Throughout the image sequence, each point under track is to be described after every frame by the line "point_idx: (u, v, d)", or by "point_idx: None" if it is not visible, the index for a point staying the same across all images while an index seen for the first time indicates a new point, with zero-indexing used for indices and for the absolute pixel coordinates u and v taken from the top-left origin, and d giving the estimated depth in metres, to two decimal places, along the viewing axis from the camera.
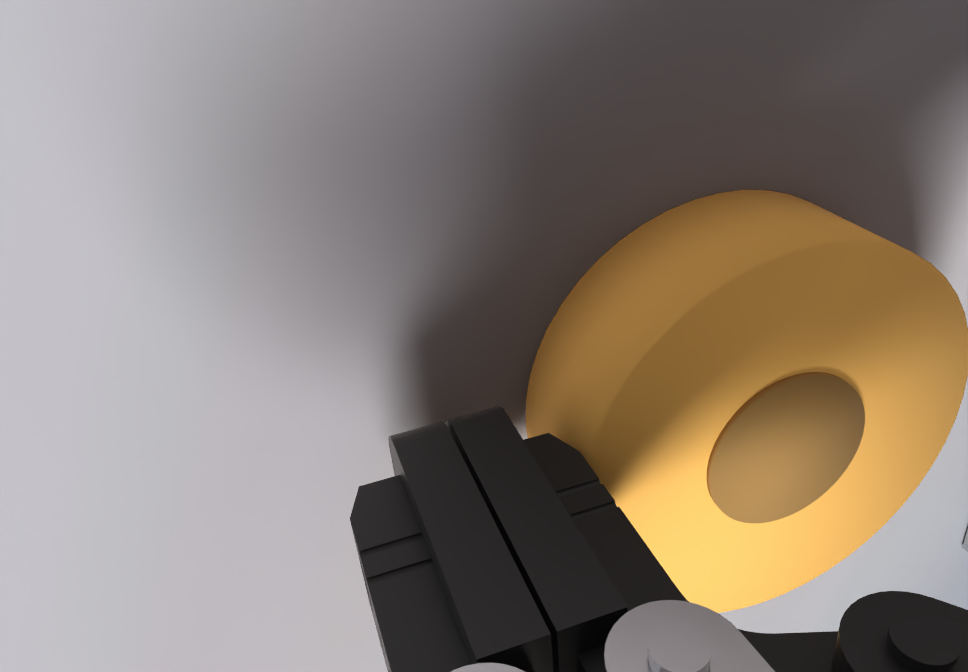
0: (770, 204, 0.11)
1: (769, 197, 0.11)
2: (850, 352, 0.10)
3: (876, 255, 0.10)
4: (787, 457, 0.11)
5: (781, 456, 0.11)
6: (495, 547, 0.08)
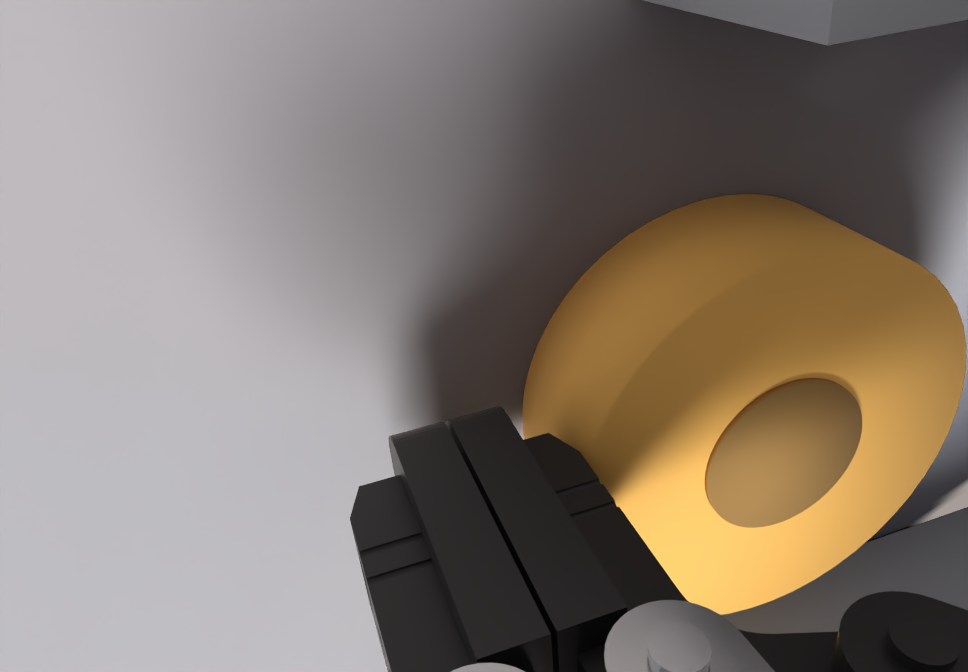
0: (779, 209, 0.11)
1: (777, 203, 0.11)
2: (850, 359, 0.10)
3: (882, 263, 0.10)
4: (784, 462, 0.11)
5: (779, 462, 0.11)
6: (495, 547, 0.08)
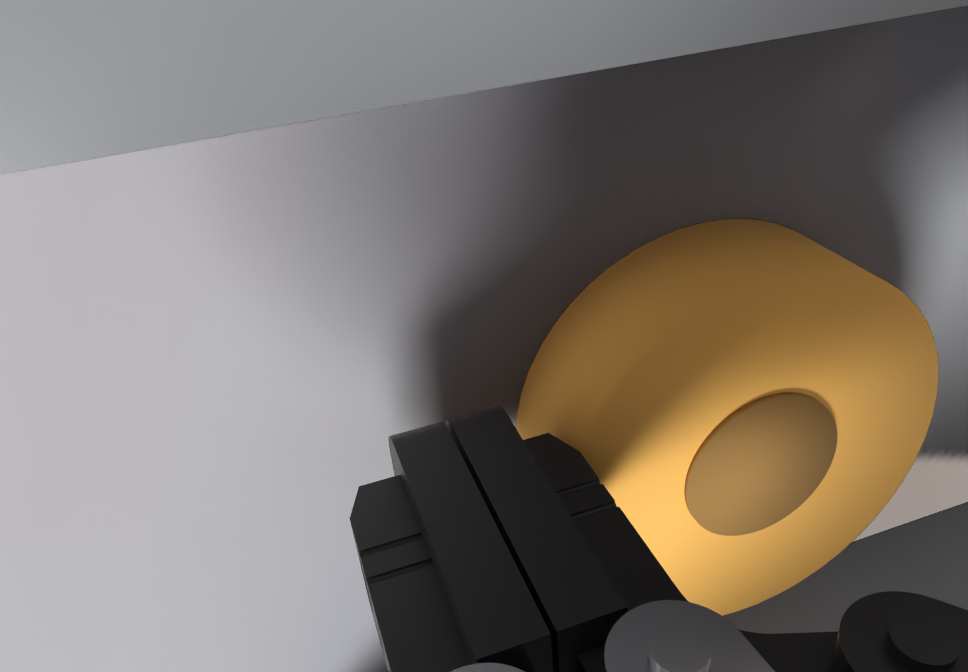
0: (774, 230, 0.11)
1: (772, 225, 0.11)
2: (831, 379, 0.11)
3: (869, 288, 0.10)
4: (761, 473, 0.11)
5: (756, 472, 0.11)
6: (495, 547, 0.08)
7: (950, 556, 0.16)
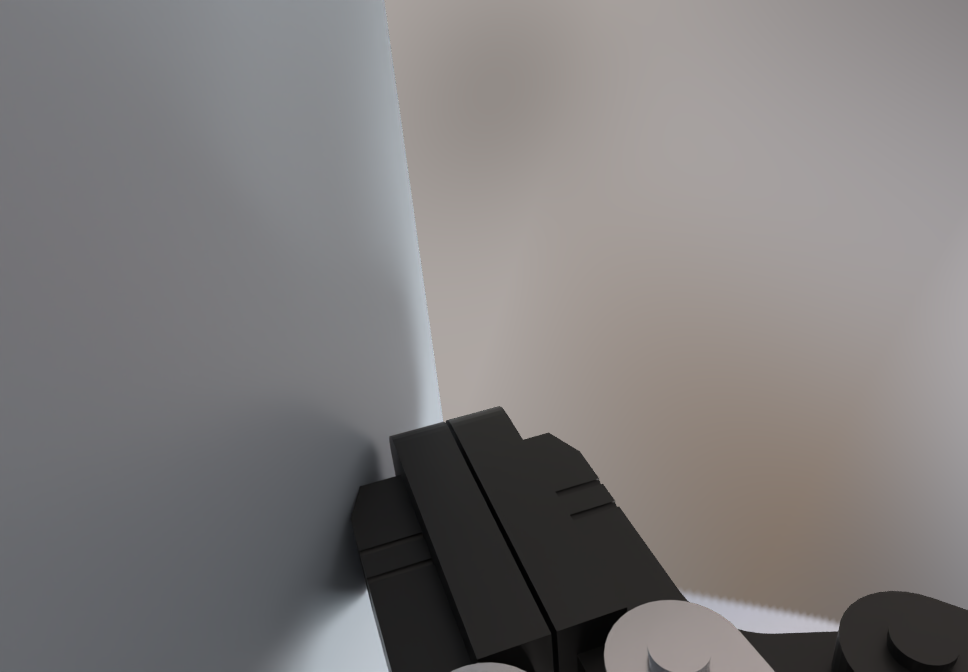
0: None
1: None
2: None
3: None
4: None
5: None
6: (496, 547, 0.08)
7: None
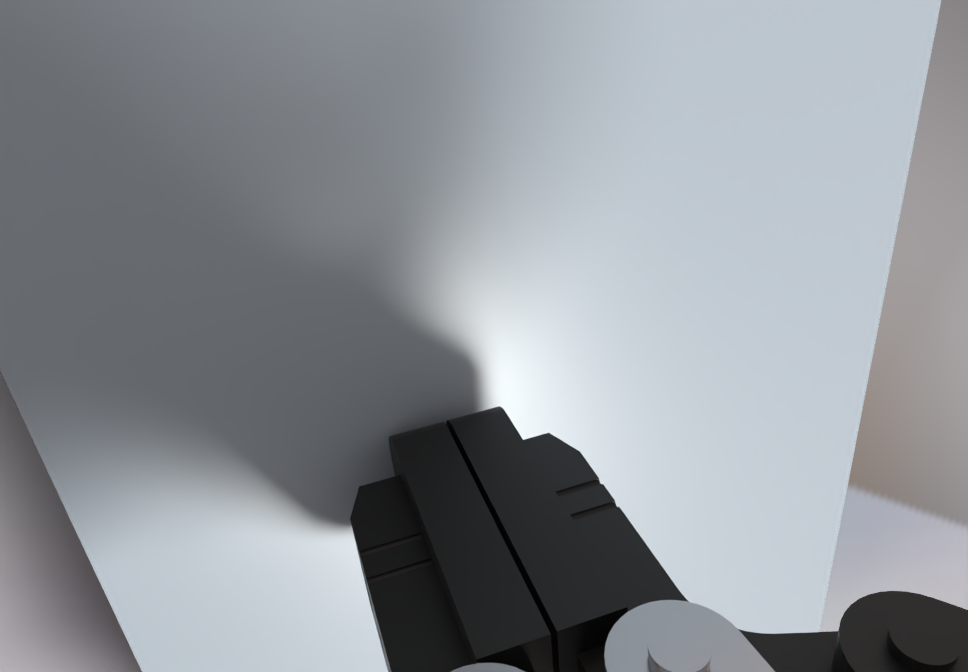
0: None
1: None
2: None
3: None
4: None
5: None
6: (495, 547, 0.08)
7: None
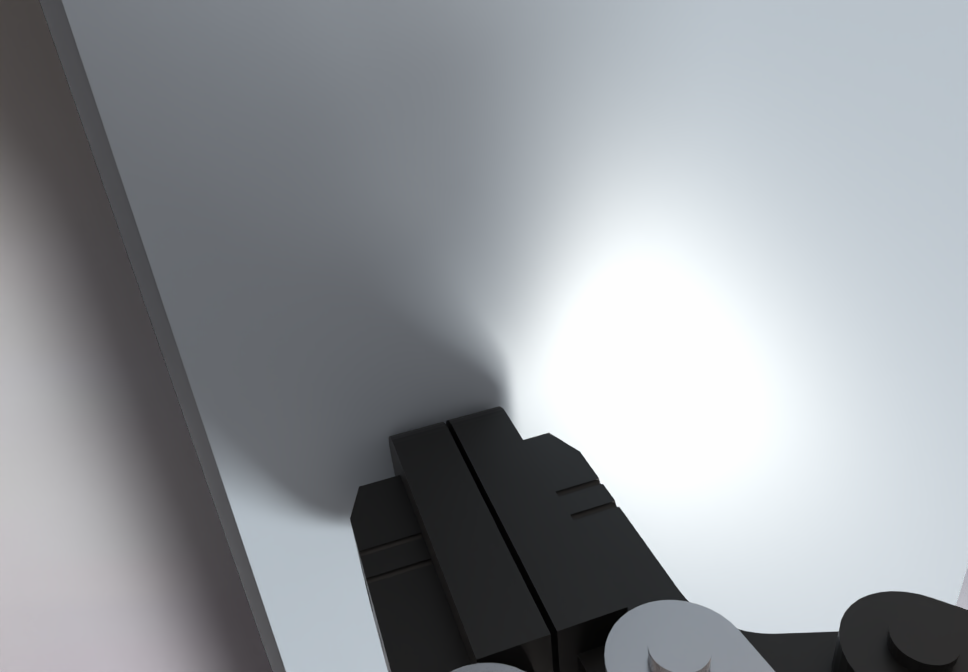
0: None
1: None
2: None
3: None
4: None
5: None
6: (495, 547, 0.08)
7: None
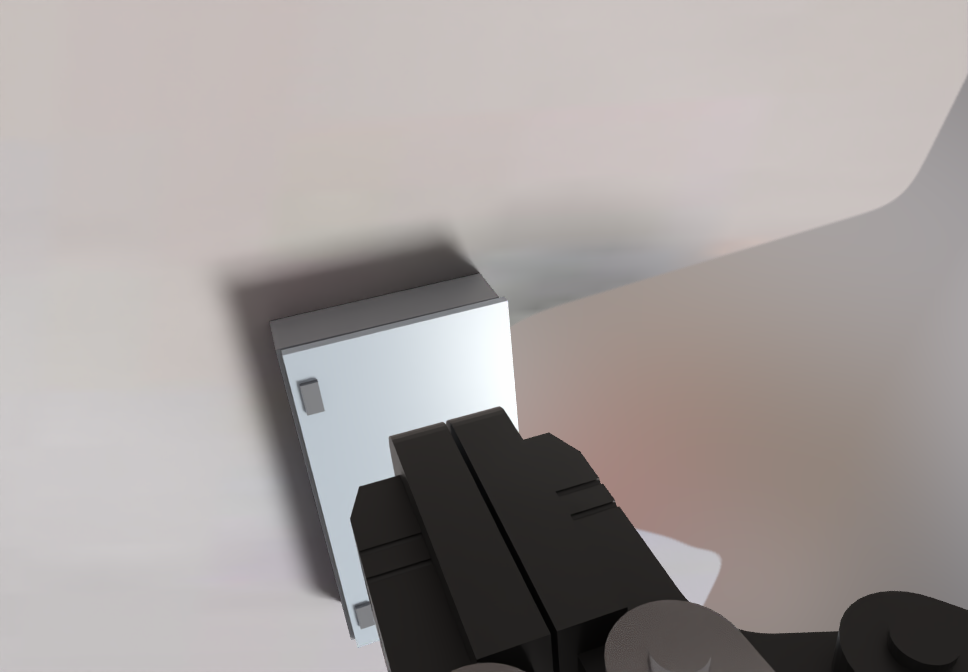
0: None
1: None
2: None
3: None
4: None
5: None
6: (495, 547, 0.08)
7: None
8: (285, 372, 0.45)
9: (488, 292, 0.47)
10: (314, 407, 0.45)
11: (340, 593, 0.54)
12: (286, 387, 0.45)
